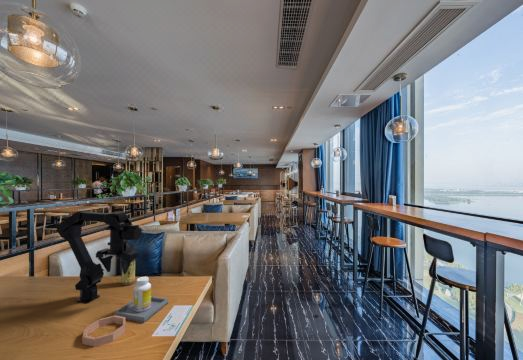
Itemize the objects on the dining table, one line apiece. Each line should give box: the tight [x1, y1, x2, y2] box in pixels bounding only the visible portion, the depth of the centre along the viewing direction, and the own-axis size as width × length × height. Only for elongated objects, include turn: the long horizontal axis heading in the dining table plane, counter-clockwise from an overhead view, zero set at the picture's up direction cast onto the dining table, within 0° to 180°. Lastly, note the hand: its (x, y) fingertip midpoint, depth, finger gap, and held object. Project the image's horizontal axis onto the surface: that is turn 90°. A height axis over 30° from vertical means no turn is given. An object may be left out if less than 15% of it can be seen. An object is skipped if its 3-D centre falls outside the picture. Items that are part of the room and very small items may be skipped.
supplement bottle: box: [133, 276, 152, 312], centre depth 97 cm, size 7×7×13 cm
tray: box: [113, 295, 169, 323], centre depth 97 cm, size 15×15×2 cm
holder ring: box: [81, 314, 127, 348], centre depth 82 cm, size 13×13×2 cm
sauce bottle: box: [121, 250, 136, 287], centre depth 122 cm, size 7×6×20 cm
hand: (116, 272), depth 104 cm, fingers open, 9 cm apart
